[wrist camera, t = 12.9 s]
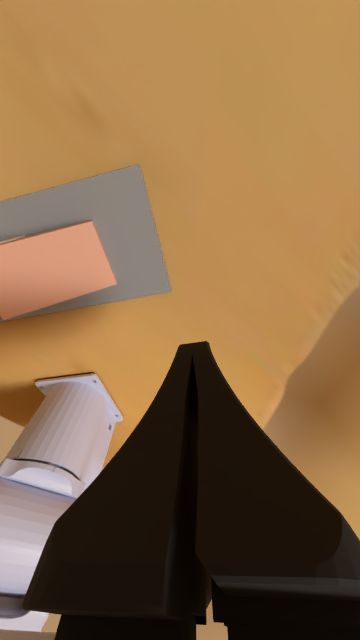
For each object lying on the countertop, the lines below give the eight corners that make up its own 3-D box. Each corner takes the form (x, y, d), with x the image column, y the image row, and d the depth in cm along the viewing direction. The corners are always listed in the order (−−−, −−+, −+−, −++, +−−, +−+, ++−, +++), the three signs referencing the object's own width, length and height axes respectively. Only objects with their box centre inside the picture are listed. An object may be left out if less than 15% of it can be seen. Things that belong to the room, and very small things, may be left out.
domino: (117, 284, 16) (3, 320, 14) (115, 276, 17) (13, 308, 16) (91, 221, 13) (-48, 257, 12) (92, 219, 15) (-30, 251, 14)
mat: (171, 289, 18) (171, 291, 18) (-77, 334, 22) (-81, 336, 22) (139, 164, 13) (138, 164, 13) (-171, 248, 17) (-179, 250, 17)
